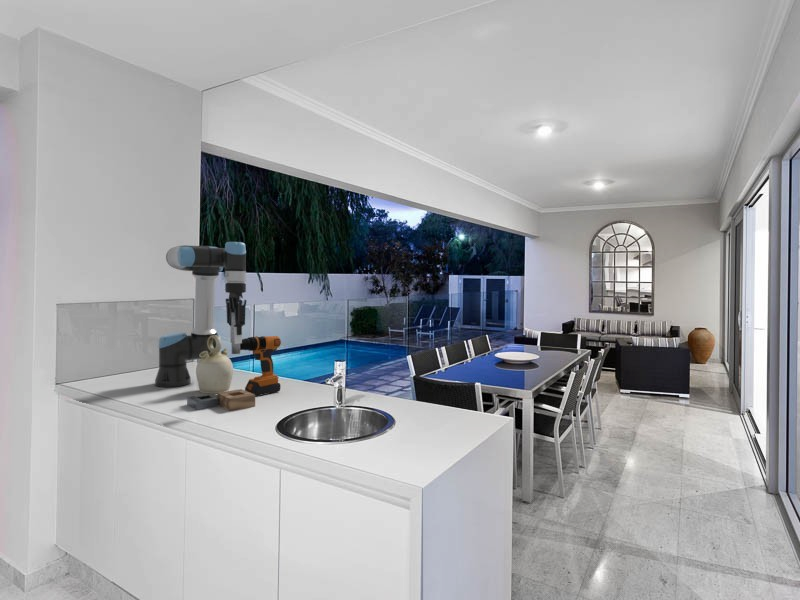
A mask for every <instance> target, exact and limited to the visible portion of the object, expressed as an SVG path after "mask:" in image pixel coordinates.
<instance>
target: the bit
mask: <svg viewBox="0 0 800 600" xmlns="http://www.w3.org/2000/svg"><path fill="white" fill-rule="evenodd" d="M234 325H235V312H231V335H232V343H231V355H239V354H241V350H240V343H239V344H234Z"/></svg>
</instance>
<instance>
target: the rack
mask: <svg viewBox="0 0 800 600" xmlns="http://www.w3.org/2000/svg"><path fill="white" fill-rule="evenodd" d="M216 395H217V397H219V398H220V406H219V407H222V408H224V409H225V410H228V411H229V412H232V411H237V410H242V409H248V408H252V407H256V396H255V394H252V393H250V392H247V391H245V389H241V388H239V389H234V390H228V391H225V392H220V393H216Z"/></svg>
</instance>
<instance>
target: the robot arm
mask: <svg viewBox="0 0 800 600" xmlns="http://www.w3.org/2000/svg"><path fill="white" fill-rule="evenodd" d="M224 245H225V246H224V247H217V246H209V245H186V244H185V245H177V246H174V247H171V248H170V249H169V250H167V253H166V255H165V259H166V262H167V264H168V265H169V266H170V267H171V268H173V269H176V270H178V271H185V272H192V273H191V275H192V276H193V277H194V278H195V288H194V289H195V290H194V291H195V293H194V295H195V296H194V298H195V299H194V301H195V302H194V328H193V329H191V332H190V335H187V332H175V333H169V334H166V335H162V336H161V337H159V339H158V347H157V348H158V370H157V373H156V376H155V379H154V385H155V386H156V387H159V388H174V387H175V388H176V387H181V386H182V387H183V386H186V385H189V384H191V381H192V380H191V378H192V377H191V376H190V372H189V369H188V367H187V365H188V364H187V361H193V360H200V359H201V357H199V355H200V353H201V352H203V351H208V354H209V353H210V352H211V351H210V350H209V348H208V345H207V341H208V338H209V337H210V336H211V335H217V336H218V337H219V338H220V340H221V339H222V338H221V335H220V334H219V333H218V330H217V329H216V328H215V298H216V296H215V295H216V279H217V278H218V277H219V276H220V272H222V271H223V269H224V270H225V271H224V277H225V282H226V283H225V284H224V285H225V286H224V287H225V288H224V289H225V290H224V291H225V293H227V294H228V298H225V304H226V305H225V306H226V307H225V309H226V323H227V324H228V325H229V343H230V344H232V335H231V312H235V325H234V344H239V343H242V339H243V326H246V305H247V299H244V296H243V293H246V292H247V283H245V282H247V271H246V270H247V268H246V267H247V265H246V263H247V260H246V259H247V258H246V257H247V255H246V254H247V250H246V244H245V243H244V242H242V241H227V242H226V243H225V244H224ZM221 341H222V340H221ZM212 345H213V347H214V349H216V341H215V339H214V338H213V341H212ZM220 351H221V350H220ZM220 351H219V352H220ZM220 353H221V352H220Z"/></svg>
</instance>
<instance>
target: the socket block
mask: <svg viewBox="0 0 800 600" xmlns="http://www.w3.org/2000/svg"><path fill="white" fill-rule="evenodd" d="M186 405H187V406H188V407H190V408H192V409H194V410H196V411H200V410H205V409H210V408H216V407H217V408H218V407H221V406H220V398H219V397H217V393H202V394H198V395H190V396H186Z"/></svg>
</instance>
